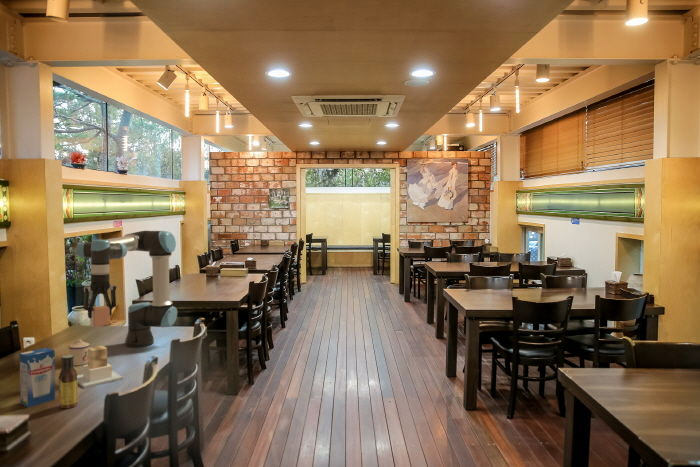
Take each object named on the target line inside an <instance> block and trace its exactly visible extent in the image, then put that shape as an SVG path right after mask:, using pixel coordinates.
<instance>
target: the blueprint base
mask: <svg viewBox="0 0 700 467" xmlns="http://www.w3.org/2000/svg"><path fill="white" fill-rule="evenodd" d="M121 380H124V376H122V375H120V374H118V372H116V371H114V370H113V366H112V365H111V364H109V363H108V362H107V366H104V367H99V368H95V369H92V368H91V367H89V366H88V364H84V365H82V374H77V385H79V386H81V387H82V388H84V389H86V388H87V389H88V388H91V387H95V386H100V385H104V384H108V383H113V382H116V381H121Z"/></svg>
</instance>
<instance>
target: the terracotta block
mask: <svg viewBox="0 0 700 467" xmlns="http://www.w3.org/2000/svg"><path fill="white" fill-rule="evenodd" d="M92 311H94V326H93V327H95V328H96V327H101V326H102V327H103V326H109V325H110V323H109V307H107V305H97V306H93V309H92Z"/></svg>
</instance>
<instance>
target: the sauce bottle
mask: <svg viewBox="0 0 700 467" xmlns="http://www.w3.org/2000/svg"><path fill="white" fill-rule="evenodd" d="M73 359H74V355H69V354H65V355H62V356H61V362H62V363H61V370H60V372H59V375H58V403H59V407H60V408H61V409H71V408H74V407H76V406H77V405H78V399H79V398H78V397H79V396H78V395H79V392H78V391H79V390H78V387H79V386H78V385H79V384H78V383H77V375H78V372H77V370H76V369H75V367H74V365H73Z"/></svg>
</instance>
